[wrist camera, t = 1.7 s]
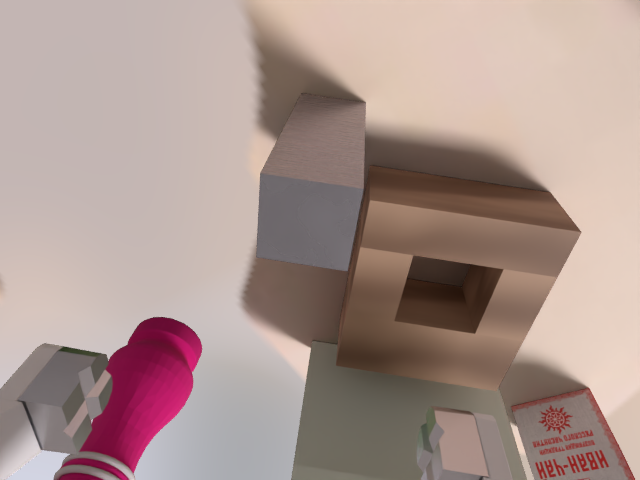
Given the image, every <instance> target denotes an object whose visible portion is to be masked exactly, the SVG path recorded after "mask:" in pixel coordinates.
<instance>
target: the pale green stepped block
mask: <svg viewBox="0 0 640 480" xmlns="http://www.w3.org/2000/svg"><path fill="white" fill-rule="evenodd" d="M337 346H338V345H337V344H331V343H324V342H318V341H312V346H311V352H310V359H309V366H308V372H307V379H306V385H305V392H304V399H303V405H302V412H301V418H300V425H299V432H298V438H297V445H296V451H295V458H294V464H293V471H292V478H291V480H421V478H422V475H423V472H422V470H421V469H420V467H419V466H418V465H417V439H418V433H419V430H420V428H421V425H423V424H425V423H427V421H426V413H427V411H428V408H429V407H430V406H437V407H443V408H450V409H457V410H464V411H470V412H474V413H480V414H487V415H492V416H493V417H494V418H495V420H496V423H497V426H498V430H499V433H500V437H501V440H502V444H503V447H504V451H505V454H506V458H507V461H508V465H509V468H510V472H511V475H512V478H513V480H527V478H526V475H525V471H524V468H523V465H522V462H521V458H520V455H519V452H518V448H517V445H516V442H515V438H514V435H513V432H512V428H511V425H510V422H509V419H508V415H507V412H506V409H505V405H504V402H503V399H502V395H501V392H500V389H499V387H498V389H497V391H492V390H486V389H479V388H473V387H467V386H460V385H454V384H448V383H441V382H435V381H429V380H422V379H416V378H410V377H404V376H397V375H391V374H385V373H378V372H372V371H366V370H359V369H353V368H347V367H340V366H336V358H337Z"/></svg>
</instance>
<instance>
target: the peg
mask: <svg viewBox="0 0 640 480" xmlns="http://www.w3.org/2000/svg"><path fill="white" fill-rule="evenodd" d="M365 115H366V102H359V101H352V100H345V99H339V98H332V97H325V96H318V95H312V94H305V93H301V95H300V97H299V99H298V101H297V103H296V105H295V106H294V108H293V110H292V112H291V114H290V116H289V118H288V120H287V122H286V124H285V126H284V128H283V130H282V132H281V134H280V136H279V138H278V140H277V142H276V144H275V146H274V148H273V149H272V151H271V153H270V155H269V157H268V159H267V161H266V163H265V165H264V167H263V169H262V171H261V173H260V191H259V213H258V233H257V255H256V257H257V258H264V259H270V260H277V261H283V262H290V263H296V264H303V265H309V266H316V267H322V268H329V269H335V270H342V271H348V267H349V262H350V256H351V251H352V246H353V241H354V236H355V231H356V226H357V221H358V215H359V210H360V205H361V200H362V195H363V190H364V155H365Z"/></svg>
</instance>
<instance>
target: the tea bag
mask: <svg viewBox="0 0 640 480" xmlns="http://www.w3.org/2000/svg"><path fill="white" fill-rule="evenodd" d="M511 408H512V411H513V414H514V418H515V421H516V424H517V427H518V430H519V433H520V437H521V440H522V443H523V446H524V449H525V452H526V456H527V459H528V462H529V465H530V468H531V471H532V474H533V476H534V479H535V480H635V478H634V476H633V474H632V472H631V470H630V468H629V466H628V464H627V461H626V459H625V457H624V455H623V453H622V451H621V450H620V447H619V445H618V443H617V441H616V439H615V437H614V435H613V433H612V432H611V430H610V428H609V426H608V424H607V422H606V420H605V418H604V416H603V414H602V412H601V410H600V408H599V406H598V404H597V402H596V400H595V398H594V396H593V394H592V392H591V391H590V389H589V388H587V389H583V390H579V391H574V392H570V393H566V394H562V395H558V396H553V397H549V398H545V399H541V400H537V401H533V402H528V403H524V404H520V405H516V406H512V407H511Z"/></svg>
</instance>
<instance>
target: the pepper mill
mask: <svg viewBox="0 0 640 480" xmlns="http://www.w3.org/2000/svg"><path fill="white" fill-rule="evenodd" d="M201 353H202V345H201V341H200V339H199V338H198V336H197V335H196V333H195V332H194V331H193V330H192V329H191V328H190V327H188V326H186V325H185V324H184V323H182V322H179V321H177V320H174V319H171V318H165V317H153V318H150V319H147V320H144V321H143V322H141V323H140V324H139V325H138V326H137V328H136V329H135V331H134V333H133V334H132V336H131V337H130V339H129V341H128V345H126V346H124V347H122V348H120V349H119V350H117V351H116V352H115V353H114V354H113V355H112V356H111V357H110V359H109V361H108V362H109V364H108V366H107V367H106V369H105V370H106V371H107V372H108V373H109V374H110V375H111V376H112V382H113V384H112V392H111V395H110V398H109V401H108V404H107V405H106V407H105V409H104V411H103V412H102V413H101V414H100V415H98V416H97V417H95V418H94V419H93V422H92V431H91V432H90V434H89V436H88V437H87V439H86V441H85V442H84V444H83V446H82V447H81V449H80V451H79V452H78V454H77V455H76V454H70V455H69V456H67V457H66V458H65V459H64V460H63V463H62V467H61V468H60V469H59V470H58V471H57V472H56V473H55V475H54V480H135V476H134V471H135V468H136V466H137V463H138V461H139V459H140V457H141V455H142V453H143V452H144V450H145V448H146V446H147V445H148V444H149V442H150V441H151V440H152V439H153V437H154V436H155V435H156V434H157V433H158V432H159V431H160V430H161V429H162V428H163V427H164V426H165V425H166V424H167V423H168V422H170V421H171V420H172V419H173V418H174V417H175V416H176V415H177V414H178V413H179V411H180V410H181V409H182V407H183V406H184V405H185V403H186V401H187V399H188V397H189V395H190V393H191V391H192V388H193V376H192V371H194V369H195V367H196V365H197V363H198V360H199V358H200V356H201Z"/></svg>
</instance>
